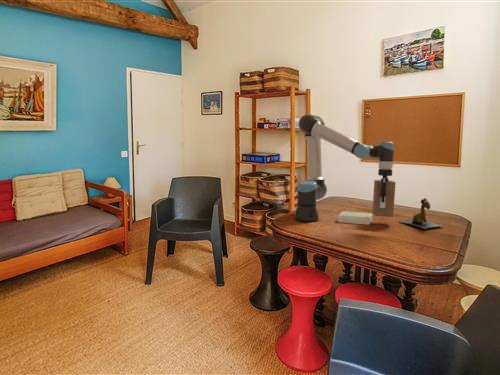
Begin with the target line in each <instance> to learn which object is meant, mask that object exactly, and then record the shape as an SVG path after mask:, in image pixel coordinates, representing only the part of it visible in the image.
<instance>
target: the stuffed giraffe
mask: <svg viewBox="0 0 500 375" xmlns="http://www.w3.org/2000/svg"><path fill="white" fill-rule="evenodd" d="M420 203H421V206H420V212H417V213H415V214H414V215H413V216H412V219H405V220H401V221H399V223H403V224H408V225H412V226H414V227H415V226H416V227H418V228H420V229H423V230H424V229H429V228H436V227H444V224H437V223H435V222H434V221H433V222H432V221H428V220H427V219H428V218H426V217H427V214H426V209H427V210H430V209H431V203H430V201H429V200H428V199H427V198H425V197H424V198H422V199H420Z"/></svg>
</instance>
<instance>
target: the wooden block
mask: <svg viewBox="0 0 500 375" xmlns="http://www.w3.org/2000/svg"><path fill="white" fill-rule="evenodd" d="M373 181H374V182H373V197H372V200H373V201H372V210H371V211H372V215H374V216H375V217H387V218H388V217H389V218H393V217H394V210H395V208H394V207H395V195H396V182H395V181H394V180H388V181H387V182H386V196H385V197H386V201H385V208H380V198H381V196H379V195H380V194H381V185H382V181H381V179H374V180H373ZM383 183H385V182H383Z"/></svg>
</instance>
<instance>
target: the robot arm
mask: <svg viewBox="0 0 500 375" xmlns="http://www.w3.org/2000/svg"><path fill="white" fill-rule="evenodd" d="M298 129H299V130H300V131H301V132H302V133H304V139H305V140H306V141H307V142H306V145H307V148H306V149H307V151H306V152H307V168H308V169H307V171H308V172H307V173H308V174H307V175H308V176H307V178H306V180H303V181H300V182H298V183H297V201H296V202H297V203H296V204H297V206H296V209H295V212H294V215H293V217H294V220H295V221H300V222H316V221H317V222H318V221H319V220H320V215H319V212H318V208H317V200H318V201H319V200H321V199H323V198H324V197H325V196H326V195H327V193H328V188H327V187H328V186H327V185H326V183H325V178H324V177H323V174H322V173H323V172H322V147H321V146H322V142H321V139H322V140H324V141H325V142H328V143H329V144H332V145H334V146H336V147H338V148H341V149H342V150H344V151H346V152H348V153H350V154H352V155H354V156H355V157H357V158H358V159H378V173H377V175H378V176H380V177H381V176H382V178H381V179H380V180H381V181H382V185H381V194H380V195H379V196H381V198H380V208H385V201H386V197H385V196H386V182H387V181H390V180H389V178H388V177H391V176H393V166H394V165H395V163H394V152H395V144H394V142H392V141H380V143H379V145H376V144H375V145H373V144H364V143H363V142H359V141H358V140H356V139H353V138H352V137H349V136H347V135H345V134H343V133H341V132H339V131H337V130H335V129H333V128H331V127H329V126H327V125H326V123H325V121H324V119H323V118H322V117H320V116H318V115H313V114H308V113H307V114H304V115H302V116H301V117H300V119H299V121H298ZM383 182H385V183H383Z"/></svg>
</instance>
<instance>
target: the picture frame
mask: <svg viewBox="0 0 500 375" xmlns="http://www.w3.org/2000/svg"><path fill="white" fill-rule="evenodd" d="M372 221H373V213H370V212H361V211H360V212H359V211H357V212H356V211H345V210H344V211H342V212H340V213H339V215H338V216H337V223H343V224H355V225H365V226H366V225H367V226H370V225H371V222H372Z"/></svg>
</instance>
